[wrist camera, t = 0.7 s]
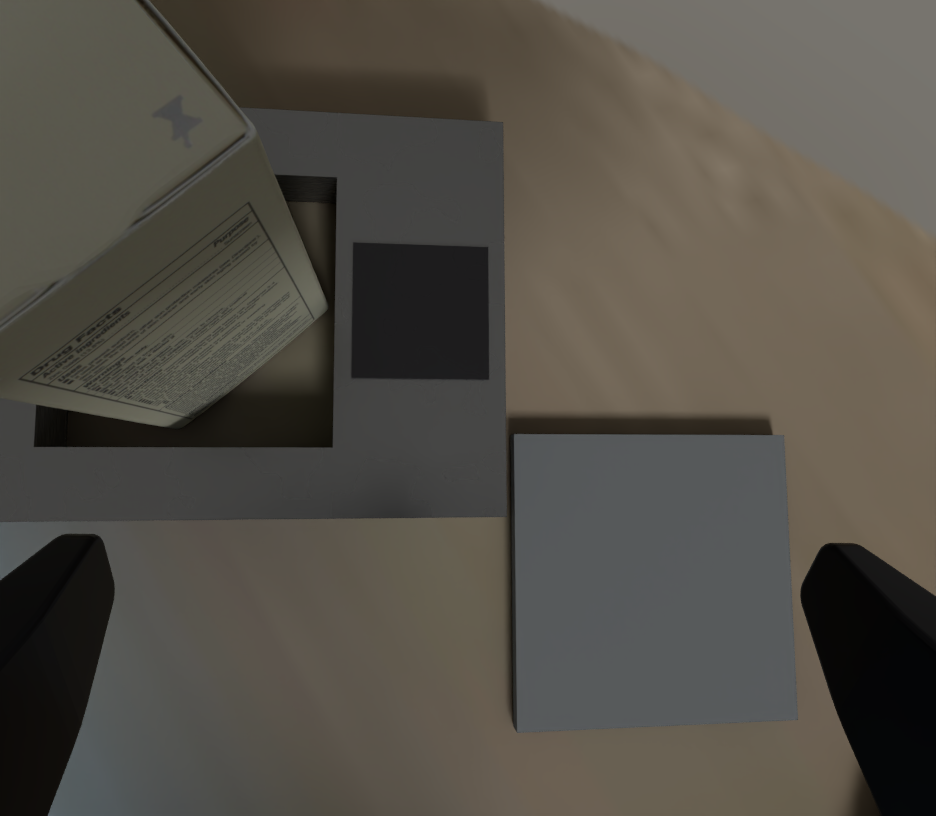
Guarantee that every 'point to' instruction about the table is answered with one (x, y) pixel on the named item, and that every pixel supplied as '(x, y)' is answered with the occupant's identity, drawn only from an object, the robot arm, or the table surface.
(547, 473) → the pad
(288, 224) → the skincare box
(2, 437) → the grey black flat block
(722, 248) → the table surface
